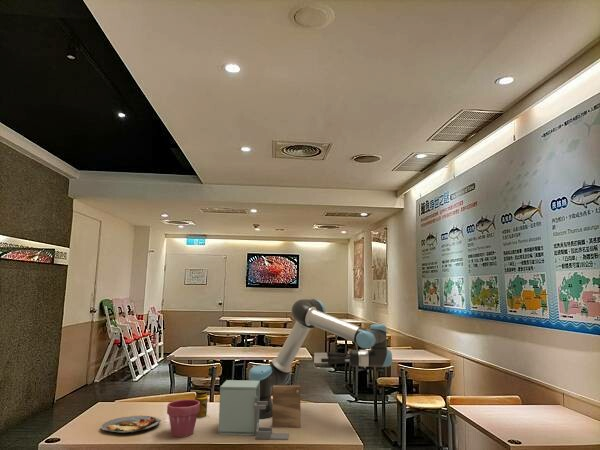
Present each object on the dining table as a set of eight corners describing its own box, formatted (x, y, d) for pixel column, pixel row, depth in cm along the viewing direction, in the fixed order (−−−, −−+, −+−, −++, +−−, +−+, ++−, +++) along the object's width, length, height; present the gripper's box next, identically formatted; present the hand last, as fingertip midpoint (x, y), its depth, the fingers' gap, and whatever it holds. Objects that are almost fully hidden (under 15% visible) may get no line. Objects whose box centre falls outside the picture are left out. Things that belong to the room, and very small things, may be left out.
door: (272, 425, 197) (273, 385, 200) (300, 425, 196) (300, 385, 199) (271, 428, 193) (272, 387, 195) (300, 428, 192) (300, 387, 195)
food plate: (170, 422, 199) (170, 414, 199) (136, 439, 177) (136, 430, 177) (127, 418, 207) (127, 411, 207) (89, 434, 185) (90, 425, 185)
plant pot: (162, 431, 187) (164, 401, 189) (193, 426, 193) (195, 397, 195) (169, 441, 174) (171, 409, 176) (202, 436, 181) (204, 404, 183)
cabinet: (225, 424, 197) (226, 380, 200) (290, 425, 196) (291, 381, 199) (215, 438, 178) (217, 389, 181) (287, 440, 177) (288, 390, 180)
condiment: (209, 417, 209) (210, 391, 211) (192, 419, 204) (194, 393, 206) (204, 413, 215) (205, 389, 217) (188, 415, 210) (189, 390, 212)
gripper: (361, 371, 186) (313, 370, 186) (356, 362, 210) (314, 361, 211) (361, 353, 187) (313, 353, 188) (356, 346, 211) (314, 346, 212)
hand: (313, 357), depth 199 cm, fingers open, 13 cm apart
